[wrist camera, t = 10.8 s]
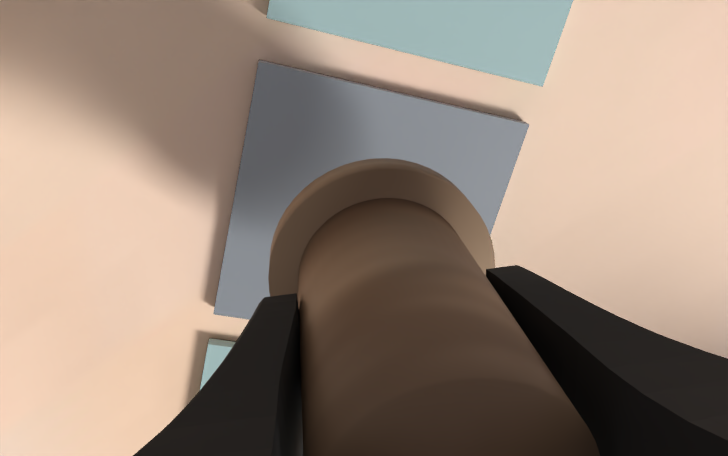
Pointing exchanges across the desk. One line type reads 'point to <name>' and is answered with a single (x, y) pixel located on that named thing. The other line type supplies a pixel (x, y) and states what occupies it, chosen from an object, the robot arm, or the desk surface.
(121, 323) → the desk surface
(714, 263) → the desk surface
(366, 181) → the pawn
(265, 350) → the robot arm
